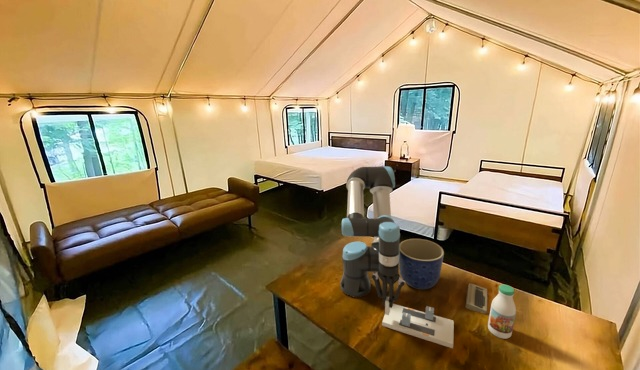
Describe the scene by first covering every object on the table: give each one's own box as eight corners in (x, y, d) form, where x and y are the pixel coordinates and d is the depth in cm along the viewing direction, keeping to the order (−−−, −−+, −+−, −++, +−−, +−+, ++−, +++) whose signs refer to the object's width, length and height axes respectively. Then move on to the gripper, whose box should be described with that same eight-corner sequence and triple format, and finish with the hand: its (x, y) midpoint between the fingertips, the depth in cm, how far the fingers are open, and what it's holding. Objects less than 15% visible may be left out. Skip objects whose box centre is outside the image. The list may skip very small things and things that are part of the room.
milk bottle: (483, 324, 105) (489, 282, 99) (501, 322, 106) (508, 280, 100) (497, 340, 98) (505, 296, 92) (516, 338, 98) (525, 293, 92)
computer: (486, 315, 110) (487, 309, 109) (465, 308, 114) (465, 302, 113) (487, 293, 122) (488, 287, 121) (467, 287, 127) (468, 282, 126)
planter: (439, 272, 138) (441, 240, 132) (442, 299, 119) (446, 263, 114) (398, 267, 145) (399, 236, 139) (396, 291, 126) (397, 257, 121)
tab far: (425, 318, 106) (425, 309, 105) (425, 313, 109) (426, 305, 107) (432, 320, 105) (433, 311, 104) (433, 316, 107) (434, 307, 106)
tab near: (401, 324, 104) (402, 315, 103) (402, 319, 106) (403, 311, 105) (409, 326, 103) (410, 318, 102) (410, 322, 105) (411, 313, 104)
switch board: (382, 325, 107) (382, 321, 106) (388, 306, 117) (388, 301, 117) (452, 348, 96) (453, 343, 95) (453, 324, 106) (453, 320, 105)
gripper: (369, 263, 100) (369, 314, 106) (404, 271, 94) (402, 324, 101) (374, 253, 106) (374, 302, 113) (407, 260, 101) (405, 310, 107)
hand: (387, 312), depth 107 cm, fingers closed
